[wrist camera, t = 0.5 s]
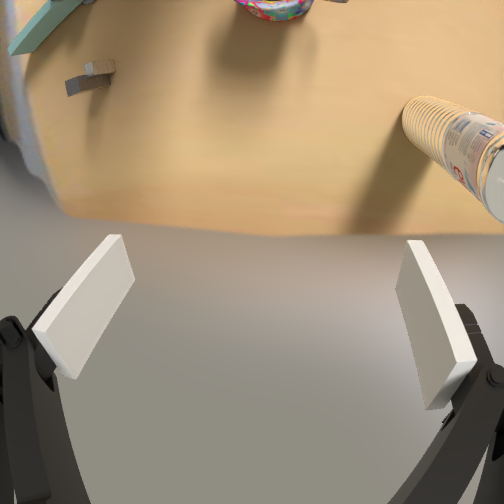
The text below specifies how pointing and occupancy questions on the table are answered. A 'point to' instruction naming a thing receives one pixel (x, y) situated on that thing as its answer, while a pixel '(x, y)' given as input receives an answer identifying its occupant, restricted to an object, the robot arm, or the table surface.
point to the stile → (91, 77)
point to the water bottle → (460, 146)
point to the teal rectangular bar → (41, 26)
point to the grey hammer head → (89, 1)
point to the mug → (279, 8)
